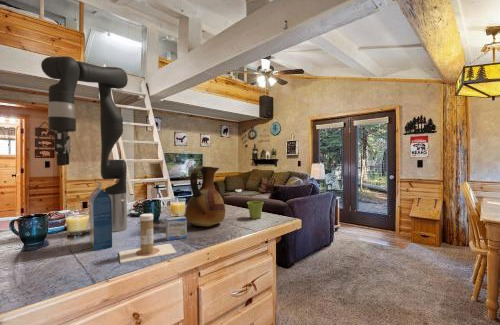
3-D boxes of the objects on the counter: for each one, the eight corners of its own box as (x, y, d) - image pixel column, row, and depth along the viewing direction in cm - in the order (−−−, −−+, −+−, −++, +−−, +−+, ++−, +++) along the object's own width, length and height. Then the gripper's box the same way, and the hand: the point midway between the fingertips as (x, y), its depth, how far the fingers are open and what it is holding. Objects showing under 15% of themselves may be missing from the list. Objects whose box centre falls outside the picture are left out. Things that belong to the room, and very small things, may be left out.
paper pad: (119, 252, 95) (119, 251, 95) (170, 244, 103) (170, 243, 103) (120, 263, 85) (120, 261, 85) (176, 253, 93) (176, 251, 93)
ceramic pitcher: (232, 222, 136) (232, 165, 135) (206, 232, 119) (206, 166, 118) (204, 218, 147) (204, 164, 146) (176, 226, 130) (176, 166, 129)
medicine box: (167, 241, 107) (167, 220, 107) (165, 238, 111) (165, 217, 111) (187, 238, 111) (186, 217, 111) (184, 235, 115) (184, 215, 115)
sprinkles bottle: (137, 252, 93) (137, 214, 93) (149, 248, 97) (149, 212, 97) (144, 255, 90) (143, 216, 90) (156, 251, 94) (155, 214, 94)
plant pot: (245, 219, 143) (245, 203, 143) (248, 215, 152) (248, 200, 152) (262, 220, 141) (262, 204, 141) (264, 216, 151) (264, 201, 150)
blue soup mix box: (93, 251, 96) (92, 183, 96) (89, 242, 106) (88, 180, 105) (112, 247, 100) (111, 182, 100) (107, 239, 110) (106, 180, 109)
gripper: (73, 114, 84) (74, 165, 84) (77, 120, 96) (78, 164, 97) (43, 113, 80) (45, 166, 81) (52, 119, 93) (53, 164, 93)
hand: (63, 165), depth 89 cm, fingers open, 8 cm apart
